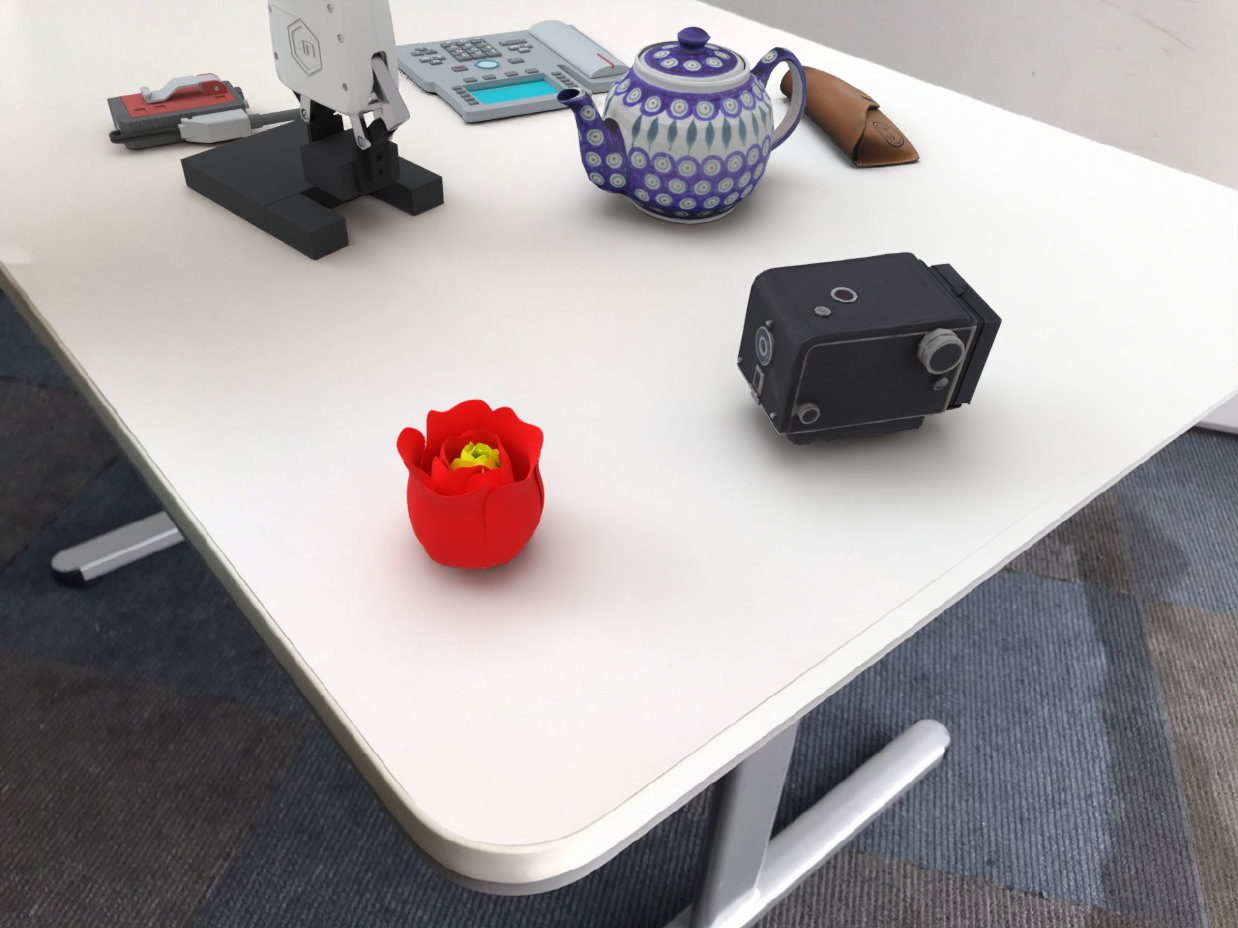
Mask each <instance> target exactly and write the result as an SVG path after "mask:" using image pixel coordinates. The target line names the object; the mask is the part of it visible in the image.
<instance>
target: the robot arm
mask: <svg viewBox="0 0 1238 928" xmlns="http://www.w3.org/2000/svg"><path fill="white" fill-rule="evenodd" d="M267 12H268V23H269V30H270V31H269V32H270V39H271V47H272V55H273V62H274V69H275V72H276V77H277V78H278V80H279V81H280V83H282V84H283V85H284V86H285V87H286V88H287V89H289V90H291V91H292V93H293V94H294V96H295V97H296V99H297V101H298V103H299V108H300V114H301V117H302V119H303V120H304V121H305V122H310V123H309V124H306V125H307V132H308V139H309V143H311V142H314V141H317V140H320V139H323V138H326V137H329V136H332V135H334V134H337V133H340V132H343V131H344V130H345V126H344V119H343V115H344V116H349V120H350V124H351V128H353V131H354V135H355V138H356V142H357V144H358V145H356V146H353V147H352V153H353V160H354V167H355V175H356V184H357V190H358V192H360V193H361V194H364V195H368V194H371V193H370V192H373V191H375V190H378V189H380V188H383V187H385V186H388V185H390V184H391V182H392V174H391V164H390V154H389V143H388V141H389V140H390V141H392V140H393V139H394V134H395V133H396V131H397V130H398V129H399V127H401V126H403V125H404V124H405V123H406V122H408V121H409V120H410V118H411V113H410V110H409V108H408V107H407V105H406V103H405V100H404V99H403V96H402V95H401V93H400V90H399V89H400V75H399V73H400V72H399V67H398V60H397V51H396V46H397V43H396V38H395V37H396V35H395V31H394V24H393V18H392V13H391V7H390V2H389V0H267ZM371 112H372V115H373V120H372V121H371V122H370V124H369V125H368V124H367V122H366V118H365V115H366V114H368V113H371ZM367 125H368V126H367ZM364 195H363V196H364Z"/></svg>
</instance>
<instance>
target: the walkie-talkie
mask: <svg viewBox="0 0 1238 928" xmlns="http://www.w3.org/2000/svg"><path fill="white" fill-rule="evenodd" d="M139 90H140V92H138V93H132V94H131V93H130V94H126V95H119V96H114V97H108V98H106V101H107V105H108V108H109V111H110V112H109V113H110V115H111V118H112V122H113V125H114V127H115V130H112V131H110V132H109V133H108V138H109V141H110V142H111V144H114V145H115V144H116V145H122V144H124V146H125V148H128V149H133V150H139V149H146V148H151V147H157V146H164V145H169V144H174V143H180V142H193V143H194V142H195V143H204V144H211V143H216V142H222V141H228V140H229V141H230V140H234V139H241V138H245V137H248V136H250V135H253V133H252V130H255V129H262V128H263V127H264V126H269V125H275V124H281V123H289V122H292V121H295V120H297V119H300V118H302V117H301V114H300V107H297V108H291V109H285V110H279V111H274V112H268V113H261V114H260V113H253V114H252V113H247V111H246V110H247V109H250V103H249V101H248V99H245V95H244V93H243V90H242V88H241V87H240V86H234V85H233V84H232V83H231V81H230V80H221V78H220V77H219V76H218V75H217V74H216V73H212V72H207V73H200V74H196V75H195V76H194V75H187V76H179V77H173V78H171V79H170V80H169V81H168V82H167V83H166V84H165V85H164V86H162V87H161V88H160V89H158V90H152V91H151V89H150V88H149V87H148V86H140V88H139Z"/></svg>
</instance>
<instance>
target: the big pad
mask: <svg viewBox="0 0 1238 928" xmlns="http://www.w3.org/2000/svg"><path fill="white" fill-rule="evenodd" d="M309 123H310V122H305V121H304V120H303V119H302V118H300V119H297V120H294V121H288V122H285V123H284V124H280V125H277V126H274V127H272V128H268V129H265V130H262V131H259V132H256V133H252V135H250V136H248V137H245V138H244V137H241V138H238V139H236V140H233V141H230V142H227V143H225V144H222V145H218V146H216V147H212V148H210V149H207V150H203V151H201V152H197V153H194V154H191V155H189V156H187V157H186V156H185V157H183V158H181V159H180V164H181V167H182V172H183V176H184V180H185V184H186V186H187V187H188V188H190V189H192V190H193V191H195V192H197V193H199V194H200V195H202V196H204V197H205V198H207V199H209V200H211V201H212V202H214V203H216V204H217V205H219V206H220V207H223V208H224V209H226V210H227V211H230V212H231V213H233V214H235V215H236V216H238V217H240V218H241V219H242V220H245V221H246V222H248V223H250V224H252V225H253V226H255V227H257V228H259V229H260V230H262V231H264V232H265V233H267V234H270V235H271V236H273V237H274V238H275V239H277V240H280V241H281V242H283V243H284V244H286V245H288V246H290V247H291V248H293V249H295V250H297V251H298V252H300V253H302V254H304V255H305V256H307V257H309V258H310V259H312V260H313V261H315V260H319V259H320V258H323V257H326V256H327V255H329V254H331V253H333V252H336V251H339V250H340V249H341V250H342V249H343V248H345V247H347V246H349V245H350V243H349V242H350V241H349V236H348V235H349V234H348V228H347V221H346V218H345V216H343V215H341V214H339V213H337V212H335V211H333V210H332V209H333V208H335V207H338V206H340V205H342V204H345V203H347V202H350V201H352V200H355V199H357V198H360V197H362V196H364V194H360V195H358V196H355V197H353V198H350V199H348V200H345V201H342V200H341V199H339V198H337V197H335V196H333V195H331V194H329V193H327V192H326V191H324V190H322V189H320V188H318V187H316V186H314V185H312V184H311V183H309V182H307V181H305V177H304V171H303V164H302V158H301V152H300V146H302V145H305V144H308V143H309V139H308V132H307V125H306V124H309ZM345 130H346V129H344V131H345ZM399 166H400V177H401V178H399V179H397V180H394V181H392V182H391V184H390V185H388V186H385V187H383V188H380V189H378V190H375V191H373V192H370V193H369V194H371V195H372V196H375V197H377V198H379V199H380V200H383V201H384V202H386V203H389V204H390V205H393V206H394V207H395V208H398V209H400V210H401V211H403V212H406V213H408V214H410V215H412V216H417V215H419V214H422V213H424V212H426V211H430V210H431V209H433V208H435V207H438V206H441V205H442V204H444V203H445V198H444V197H445V196H444V185H443V184H444V183H443V175H442V176H441V175H440V174H438V173H436V172H433V171H431V170H429V169H427V168H425V167H423V166H420V165H419V164H417V163H414V162H413V161H410V160H409V159H407V158H404V157H402V156H400V155H399Z"/></svg>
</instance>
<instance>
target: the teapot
mask: <svg viewBox="0 0 1238 928" xmlns="http://www.w3.org/2000/svg"><path fill="white" fill-rule="evenodd" d="M676 35H677V39H676V40H675V39H674V40H665V41H660V42H659V41H658V42H653V43H650V44H648V45H645V46H643V47H641V48H639V50H638V51H637V52H636V53H635V56H634V58H633V59H634V60H633V64H632V65H631V67H630V69H629V70H628V71H627V72H625V73H624V74H623V75H622V76H621V77H619V78H618V79H617V80H616V81H615V82H614V84H613V85H612V86H611V88H610V90H609V91H607V95H606V97H605V99H604V105H603V110H602V115H601V113H600V111H599V109H598V107H597V105H596V103H595V101H594V100H593V97H592V98H591V97H590V95H589V94H588V93H587V92H586V91H584V90H583V89H581V88H577V87H573V88H568V89H564V90H562V91H561V92H559V93H558V95H557V97H556V99H557V100H558V101H559V102H560V103H562V104H564V105H566V106H568V107H567V108H569V109H570V110H571V112H572V114H573V116H574V120H575V125H576V130H577V138H578V146H579V147H578V148H579V155H580V160H581V163H582V166H583V169H584V170H585V173H586V175H587V178H588V180H589V181H591V183H592V184H593V185H595V186H596V187H597V188H598V189H600V190H602V191H604V192H606V193H610V194H617V195H621V196H625V197H627V198H628V199H629V201H630V202H631V203H632V204H633V205H634V207H636V208H637V209H638V210H639V211H641V212H643V213H644V214H647V215H649V216H651V217H653V218H656V219H659V220H663V221H666V222H671V223H676V224H677V223H679V224H687V225H693V224H694V225H695V224H702V223H708V222H713V221H716V220H719V219H721V218H724V217H726V216H728V215H729V214H730V213H732V212H733V211H734V209H735V207H736V206H737V205H738V204H739V203H741V202H742V201H743V200H745V199H746V198H747V197H748V196H750V195H751V194H752V193H753V191H754V190H755V189H756V187H757V186H758V185H759V183H760V182H761V180H762V178H763V176H764V175H765V172H766V169H767V165H768V163H769V160H770V157H771V154H772V152H773V151H774V150H776V149H777V148H778V147H780V146H781V145H782V144H784V143H785V142H786V140H788V139H789V138H790V137H791V135H792V134H793V133H794V132H795V130H796V129H797V128H798V125H799V124H800V121H801V119H802V117H803V115H804V112H805V110H804V109H805V105H806V99H807V80H806V76H805V72H804V69H803V67H802V65H803V64H802V63H801V61H800V60H799V58H798V57H797V56H796V55H795V53H793V51H792V50H790V49H788V48H787V47H782V46H774V47H773V48H771V49H770V50H769V51H768V52H766V53H765V54H764V55H763V56H762V57H761V58H760V59H759V60H758V62H757V63H756V64H755V65H754V67H753V68H751V63H750V62H749V60H748V58H746V56H745V55H743V54H741V53H740V52H739V51H736V50H734V49H732V48H729V47H727V46H724V45H721V44H717V43H714V42H709V41H710V40H711V38H712V37H711V36H710V34H709V33H708V32H707V31H706V30H705V29H704V28H701V27H699V26H687V27H684V28H682V29H680V31H678V32H677V34H676ZM781 63H786V64H787V66H788V68H789V69H790V71H791V75H792V81H793V93H792V98H791V100H790V102H789V106H788V109H787V111H786V114H785V115H784V117H783V118H782V120H781V122H780V123H779V124H778V125H777V126H776V128H775V122H774V121H775V120H774V111H773V103H772V99H771V97H770V95H769V93H768V91H767V90H766V89H767V87H768V86H767V85H768V82H769V80H770V77H771V74H772V72H773V71H774V69H776V67H777V66H778V65H779V64H781Z"/></svg>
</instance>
